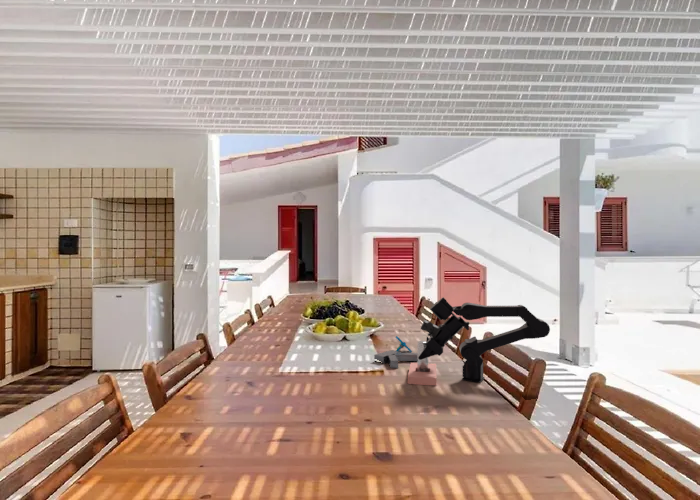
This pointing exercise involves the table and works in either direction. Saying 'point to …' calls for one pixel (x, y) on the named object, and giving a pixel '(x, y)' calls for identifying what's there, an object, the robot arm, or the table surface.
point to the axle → (422, 364)
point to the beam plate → (422, 375)
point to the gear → (402, 345)
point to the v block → (395, 357)
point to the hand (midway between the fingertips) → (419, 357)
